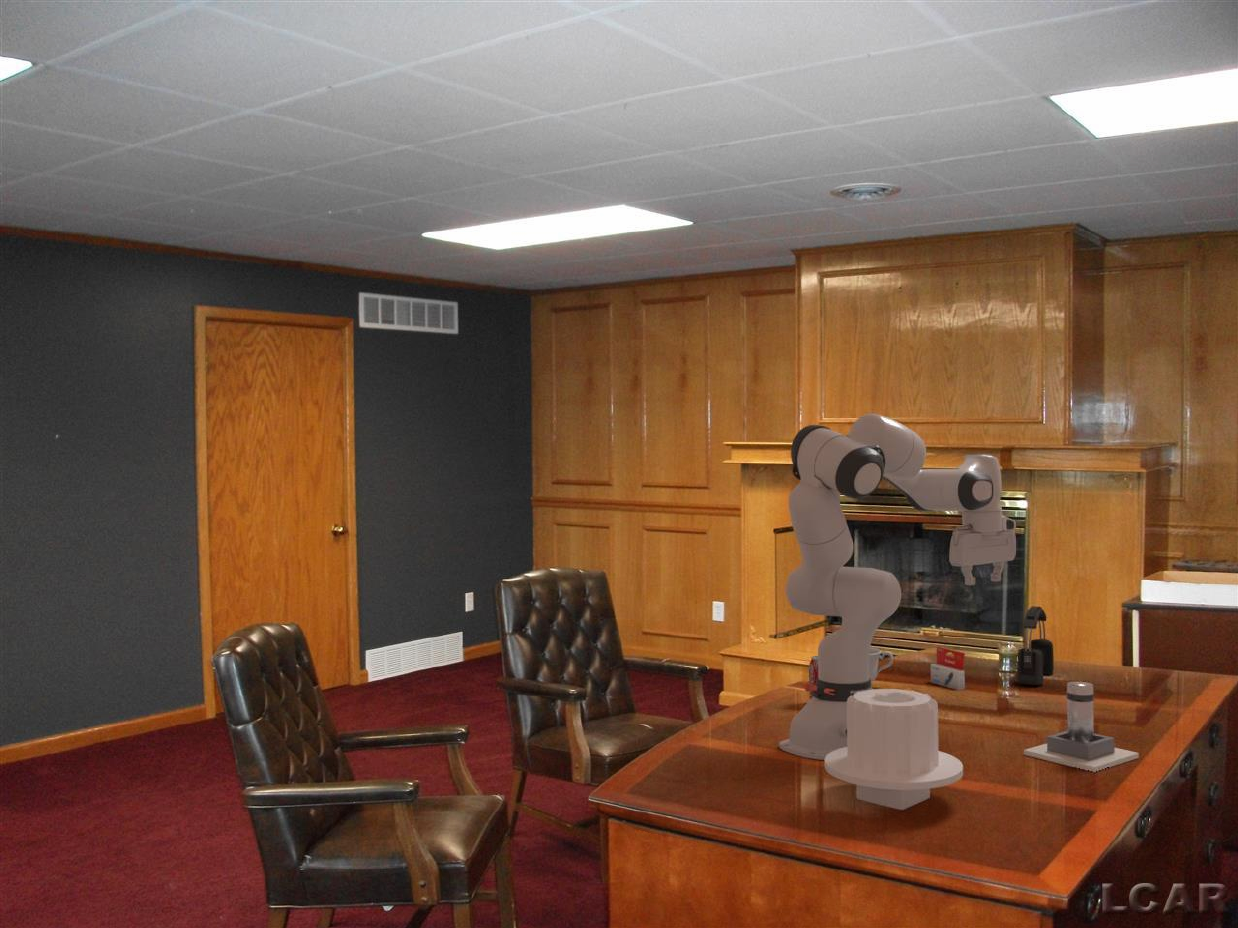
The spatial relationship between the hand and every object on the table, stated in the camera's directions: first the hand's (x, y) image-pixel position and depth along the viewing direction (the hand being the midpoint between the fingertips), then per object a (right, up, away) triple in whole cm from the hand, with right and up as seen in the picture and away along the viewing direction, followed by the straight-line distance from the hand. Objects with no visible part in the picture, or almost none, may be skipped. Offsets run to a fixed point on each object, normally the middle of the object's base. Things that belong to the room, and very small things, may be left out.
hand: (983, 583), depth 256 cm
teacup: (-18, -33, +43) cm, 57 cm away
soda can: (-33, -34, +24) cm, 53 cm away
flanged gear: (-33, -35, -50) cm, 70 cm away
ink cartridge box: (+4, -33, +42) cm, 54 cm away
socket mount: (+12, -33, -26) cm, 44 cm away
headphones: (+31, -32, +48) cm, 66 cm away
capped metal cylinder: (+12, -32, -26) cm, 43 cm away
